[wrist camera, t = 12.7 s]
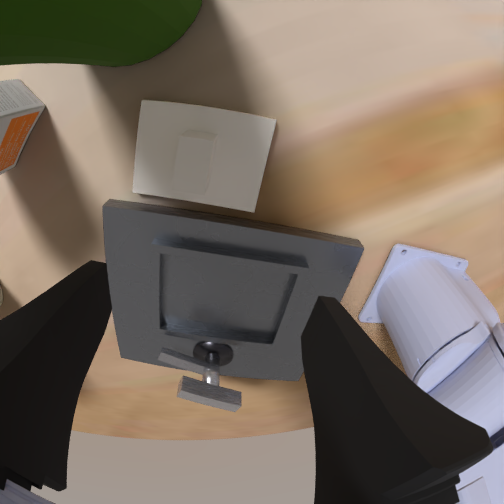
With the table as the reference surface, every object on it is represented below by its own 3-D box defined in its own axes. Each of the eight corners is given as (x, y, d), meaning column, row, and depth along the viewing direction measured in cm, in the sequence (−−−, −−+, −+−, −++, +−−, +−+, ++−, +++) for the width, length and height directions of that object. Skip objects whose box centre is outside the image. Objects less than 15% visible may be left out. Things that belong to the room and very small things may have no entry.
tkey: (165, 336, 23) (154, 380, 19) (241, 361, 25) (241, 405, 21) (161, 345, 23) (150, 388, 19) (234, 369, 25) (234, 412, 21)
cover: (274, 118, 16) (281, 124, 13) (253, 205, 19) (255, 230, 16) (148, 99, 15) (126, 102, 12) (138, 186, 18) (118, 207, 15)
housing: (358, 239, 20) (368, 254, 19) (296, 371, 28) (299, 387, 27) (109, 199, 18) (97, 210, 16) (124, 348, 26) (118, 363, 24)
